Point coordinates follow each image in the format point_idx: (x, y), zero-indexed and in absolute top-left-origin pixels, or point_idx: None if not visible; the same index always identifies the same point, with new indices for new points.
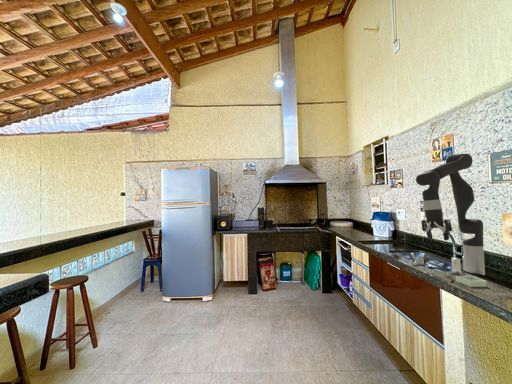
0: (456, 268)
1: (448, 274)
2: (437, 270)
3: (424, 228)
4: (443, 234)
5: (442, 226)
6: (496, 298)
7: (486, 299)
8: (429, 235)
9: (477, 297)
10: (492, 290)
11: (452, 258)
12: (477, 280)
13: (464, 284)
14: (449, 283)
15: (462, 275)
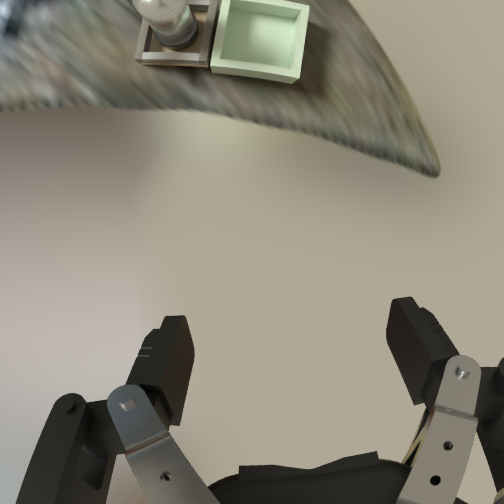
0: (182, 25)
1: (159, 59)
2: (44, 20)
3: (108, 467)
4: (410, 387)
5: (424, 461)
6: (383, 93)
7: (383, 137)
8: (183, 382)
9: (364, 148)
10: (317, 15)
11: (145, 8)
12: (266, 7)
13: (263, 76)
14: (207, 101)
15: None
